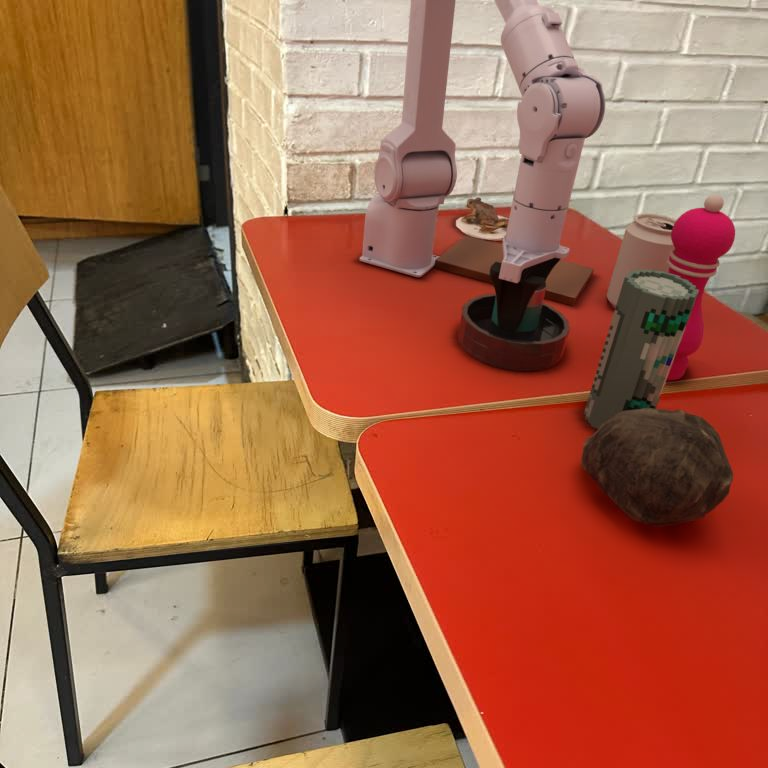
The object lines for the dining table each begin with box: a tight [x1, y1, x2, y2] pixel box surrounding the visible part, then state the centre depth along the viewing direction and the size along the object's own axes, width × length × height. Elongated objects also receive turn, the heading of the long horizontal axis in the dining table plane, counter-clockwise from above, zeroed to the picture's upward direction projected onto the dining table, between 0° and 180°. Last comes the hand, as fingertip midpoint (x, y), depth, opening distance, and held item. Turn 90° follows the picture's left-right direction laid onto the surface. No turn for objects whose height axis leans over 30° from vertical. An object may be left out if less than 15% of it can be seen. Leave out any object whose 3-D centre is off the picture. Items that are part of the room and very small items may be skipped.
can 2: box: [583, 269, 699, 430], centre depth 65 cm, size 6×6×15 cm
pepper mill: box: [666, 194, 736, 381], centre depth 74 cm, size 7×7×20 cm
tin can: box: [489, 274, 547, 341], centre depth 79 cm, size 5×5×7 cm
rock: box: [581, 408, 734, 527], centre depth 57 cm, size 10×11×10 cm
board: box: [433, 235, 595, 307], centre depth 99 cm, size 20×12×1 cm, turn 64°
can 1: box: [606, 213, 677, 309], centre depth 89 cm, size 8×8×12 cm
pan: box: [457, 293, 571, 372], centre depth 80 cm, size 12×12×4 cm
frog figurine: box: [455, 196, 509, 242], centre depth 113 cm, size 12×12×4 cm
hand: (515, 318), depth 79 cm, fingers closed on tin can, 5 cm apart
